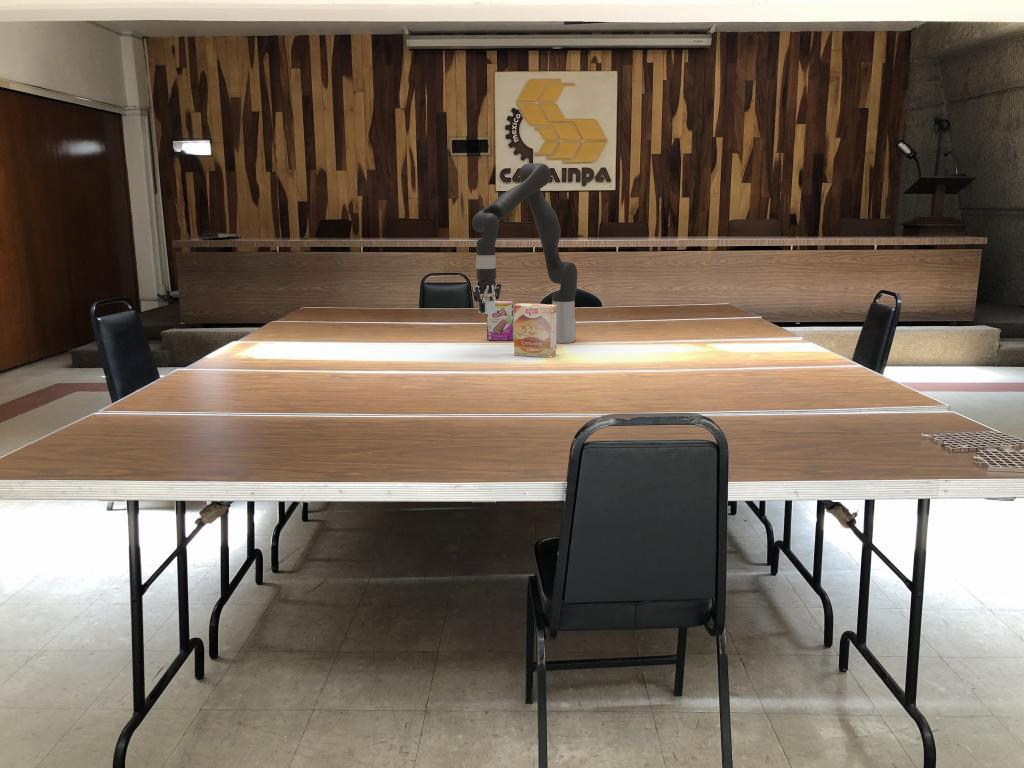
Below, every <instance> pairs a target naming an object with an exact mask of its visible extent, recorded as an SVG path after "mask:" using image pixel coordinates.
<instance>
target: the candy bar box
mask: <svg viewBox="0 0 1024 768" xmlns="http://www.w3.org/2000/svg"><path fill="white" fill-rule="evenodd" d="M514 305H515V301H506V300H505V301H504V300H503V301H500V300H499V301H498V300H496V301H495V312H496V313H491V314H486V334H487V335H486V340H513V339H514ZM513 341H514V340H513Z"/></svg>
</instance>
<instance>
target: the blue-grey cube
mask: <svg viewBox="0 0 1024 768" xmlns="http://www.w3.org/2000/svg"><path fill="white" fill-rule="evenodd" d="M484 303H485V313H480V311H479V310H478V314H483V315H487V314H491V313H496V312H495V301H490V300H489V299H485V302H484Z"/></svg>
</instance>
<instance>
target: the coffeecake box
mask: <svg viewBox="0 0 1024 768" xmlns="http://www.w3.org/2000/svg"><path fill="white" fill-rule="evenodd" d="M513 344H514V345H513V350H514V352H513V353H514V354H515V355H514V354H513V355H514V356H520V355H527V356H526V357H534V356H541V357H540V358H547V357H551V356H552V357H554V356H556V355H557V343H556V305H552V304H545V303H524V302H522V303H516V304H515V303H514V340H513ZM552 357H551V358H552Z"/></svg>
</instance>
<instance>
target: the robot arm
mask: <svg viewBox="0 0 1024 768" xmlns="http://www.w3.org/2000/svg"><path fill="white" fill-rule="evenodd" d="M551 175H552V173H551V169H550V167H549V166H548V164H546V163H542V162H536V163H533V162H532V163H525V164H523V165H521V167H520V170H519V180H520V183H519V184H517V185H515V186H514V187H512V188H510V189H508V190H506V191H504V192H503V193H502V194H501V195H500V196H499V197H497V198H496V199H495V200H494V201H493V202H492V203H491V204H489V205H487V206H486V207H484V208H482V209H480V210H479V211H477V212H476V213H475V215H474V216H473V217H472V220H471V227H472V228H473V230H474V231H476V232H478V233H482V237H481V238H480V239H478V240H477V241H476V260H475V267H476V269H475V270H476V271H475V273H476V275H475V276H476V280H477V284H476V285H475V286H471V293H472V296H473V300H474V302H477V303H478V312H479V311H480V313H479V314H482V313H485V303H484V302H485V300H486V298H487V297H488V300H490V301H498V300H499V299H500V295H501V291H502V284H501V283H497V282H496V279H497V259H496V258H497V257H496V241H497V237H498V232H499V228H500V222H499V220H502V219H504V218H506V217H507V216H508V215H509V214H510V213H511V212H513V210H514V209H516V207H517V206H519V205H520V204H521V203H522V202H523V201H525V200H526V199H527V201H528V204H529V207H530V209H531V213H532V217H533V219H534V220H533V221H534V223H535V227H536V231H537V233H538V236H539V239H540V243H541V247H542V251H543V255H544V259H545V266H546V270H547V276H548V277H549V280H550V281H551V282H552V283H554V284H557V285H560V288H559V290H558V291H557V292H554V293H552V298H551V299H552V300H551V301H552V302H551V305H556V344H571V343H574V342H576V340H577V339H576V337H577V336H576V333H577V331H576V330H577V328H576V327H577V324H576V323H577V322H576V321H577V320H576V318H575V301H576V300H575V299H576V298H575V297H576V295H577V288H578V287H577V286H578V268H577V266H576V264H575V263H573V262H570V261H563V260H561V259H562V258H560V252H559V242H560V239H561V233H562V228H561V225H560V222H559V217H558V215H557V213H556V211H555V210H554V209H553V207H552V206H551V205H550V203H549V202H548V201H547V200H546V198H545V197H544V195H543V193H542V189H543V188H544V187H546V185H548V184H549V182H550V180H551V177H552V176H551Z"/></svg>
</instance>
